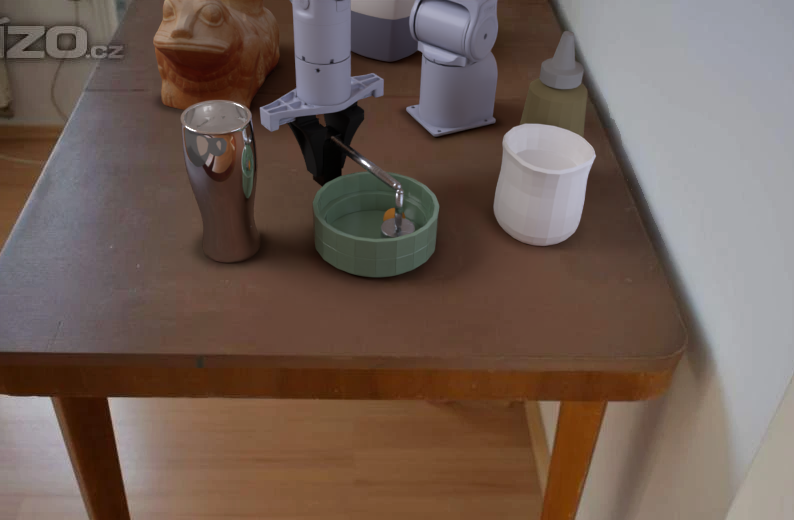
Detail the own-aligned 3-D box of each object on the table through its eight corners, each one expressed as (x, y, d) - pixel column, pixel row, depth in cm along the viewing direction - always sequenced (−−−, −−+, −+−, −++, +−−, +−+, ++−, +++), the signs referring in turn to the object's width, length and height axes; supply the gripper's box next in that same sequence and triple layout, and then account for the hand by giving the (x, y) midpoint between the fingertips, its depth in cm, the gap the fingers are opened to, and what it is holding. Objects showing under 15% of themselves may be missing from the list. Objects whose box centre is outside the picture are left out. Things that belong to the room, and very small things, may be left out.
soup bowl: (400, 199, 97) (402, 160, 93) (457, 261, 88) (462, 222, 85) (295, 226, 92) (293, 187, 88) (346, 294, 84) (346, 254, 80)
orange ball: (401, 231, 92) (398, 209, 92) (410, 227, 90) (407, 205, 90) (381, 232, 91) (378, 210, 91) (390, 228, 89) (387, 206, 89)
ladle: (421, 239, 88) (425, 187, 84) (394, 250, 86) (396, 198, 82) (334, 171, 97) (333, 121, 93) (308, 181, 95) (306, 130, 91)
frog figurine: (136, 122, 107) (114, 4, 97) (204, 40, 126) (191, -66, 116) (242, 135, 106) (230, 16, 96) (293, 49, 125) (288, -57, 115)
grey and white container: (311, 47, 126) (309, -30, 118) (372, 16, 135) (373, -57, 128) (395, 76, 120) (398, -3, 112) (452, 42, 129) (459, -33, 122)
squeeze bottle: (536, 155, 105) (561, 12, 93) (589, 182, 101) (622, 35, 89) (494, 178, 101) (514, 30, 88) (548, 207, 97) (576, 56, 84)
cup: (560, 259, 89) (577, 180, 83) (475, 229, 93) (485, 151, 86) (590, 216, 96) (608, 139, 89) (510, 190, 99) (522, 114, 92)
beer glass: (207, 271, 85) (187, 139, 75) (191, 234, 90) (170, 105, 80) (273, 257, 87) (262, 127, 77) (254, 221, 92) (242, 94, 82)
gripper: (357, 23, 91) (356, 136, 100) (240, 55, 84) (251, 172, 94) (397, 46, 87) (392, 161, 96) (278, 81, 80) (285, 201, 90)
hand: (325, 168), depth 95 cm, fingers closed on ladle, 2 cm apart
